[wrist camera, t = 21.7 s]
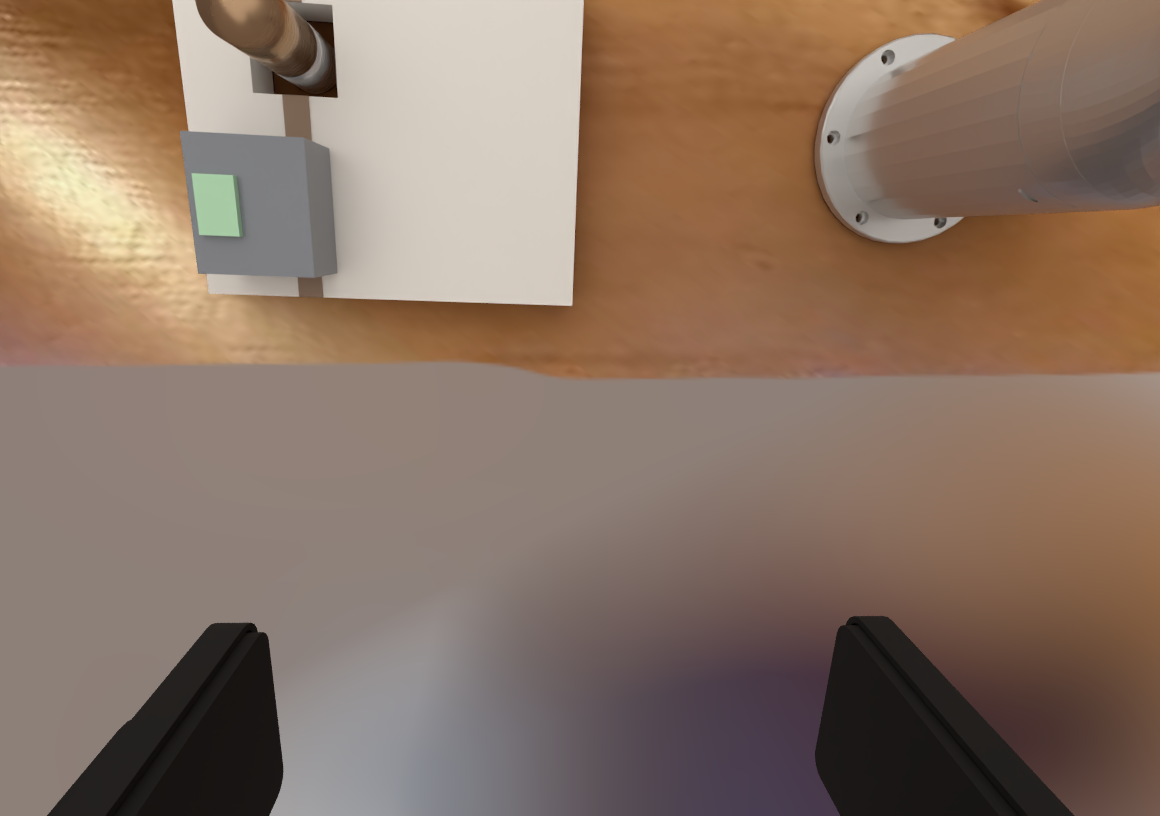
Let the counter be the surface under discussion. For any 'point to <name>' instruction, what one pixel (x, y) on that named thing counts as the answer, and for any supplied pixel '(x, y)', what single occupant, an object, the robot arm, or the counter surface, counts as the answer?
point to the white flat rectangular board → (421, 144)
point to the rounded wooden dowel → (274, 39)
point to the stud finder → (260, 204)
